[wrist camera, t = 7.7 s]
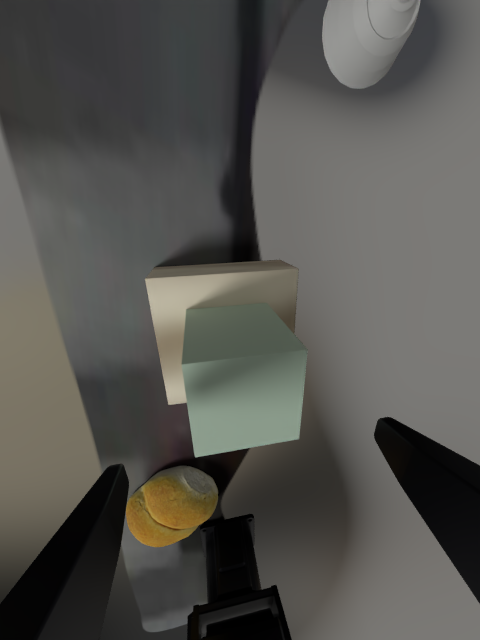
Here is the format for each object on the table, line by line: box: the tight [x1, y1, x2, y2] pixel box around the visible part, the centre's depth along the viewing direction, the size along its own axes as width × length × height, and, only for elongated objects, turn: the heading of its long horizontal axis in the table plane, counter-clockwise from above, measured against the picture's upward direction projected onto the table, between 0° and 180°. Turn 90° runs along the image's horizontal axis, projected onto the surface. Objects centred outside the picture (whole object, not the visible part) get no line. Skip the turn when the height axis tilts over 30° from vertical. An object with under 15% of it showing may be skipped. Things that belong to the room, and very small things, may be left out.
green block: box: [181, 303, 308, 457], centre depth 13 cm, size 5×5×6 cm
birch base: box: [145, 260, 298, 405], centre depth 17 cm, size 9×9×4 cm
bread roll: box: [126, 466, 218, 547], centre depth 24 cm, size 8×9×4 cm
